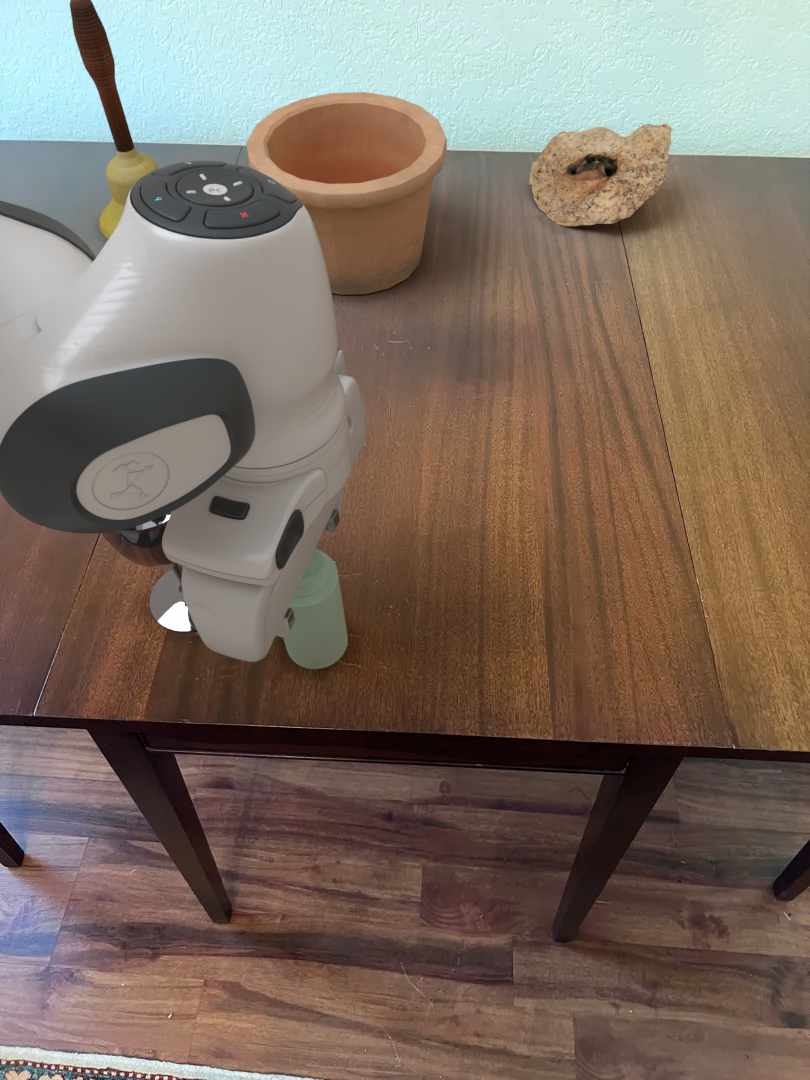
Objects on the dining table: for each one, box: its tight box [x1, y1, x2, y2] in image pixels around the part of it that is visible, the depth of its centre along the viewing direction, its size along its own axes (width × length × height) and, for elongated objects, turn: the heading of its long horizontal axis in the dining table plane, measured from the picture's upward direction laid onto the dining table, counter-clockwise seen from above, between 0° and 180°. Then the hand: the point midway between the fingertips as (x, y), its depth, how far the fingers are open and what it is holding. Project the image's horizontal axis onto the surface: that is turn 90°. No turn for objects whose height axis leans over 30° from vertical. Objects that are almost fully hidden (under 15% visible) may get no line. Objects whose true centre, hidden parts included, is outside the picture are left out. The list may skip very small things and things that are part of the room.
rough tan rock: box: [528, 123, 673, 227], centre depth 101 cm, size 18×14×8 cm
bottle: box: [282, 547, 349, 670], centre depth 59 cm, size 5×5×15 cm
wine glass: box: [100, 512, 197, 633], centre depth 62 cm, size 8×8×15 cm
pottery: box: [246, 91, 448, 296], centre depth 91 cm, size 22×22×14 cm
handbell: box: [69, 0, 160, 240], centre depth 92 cm, size 12×12×25 cm
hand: (305, 572), depth 57 cm, fingers open, 8 cm apart
